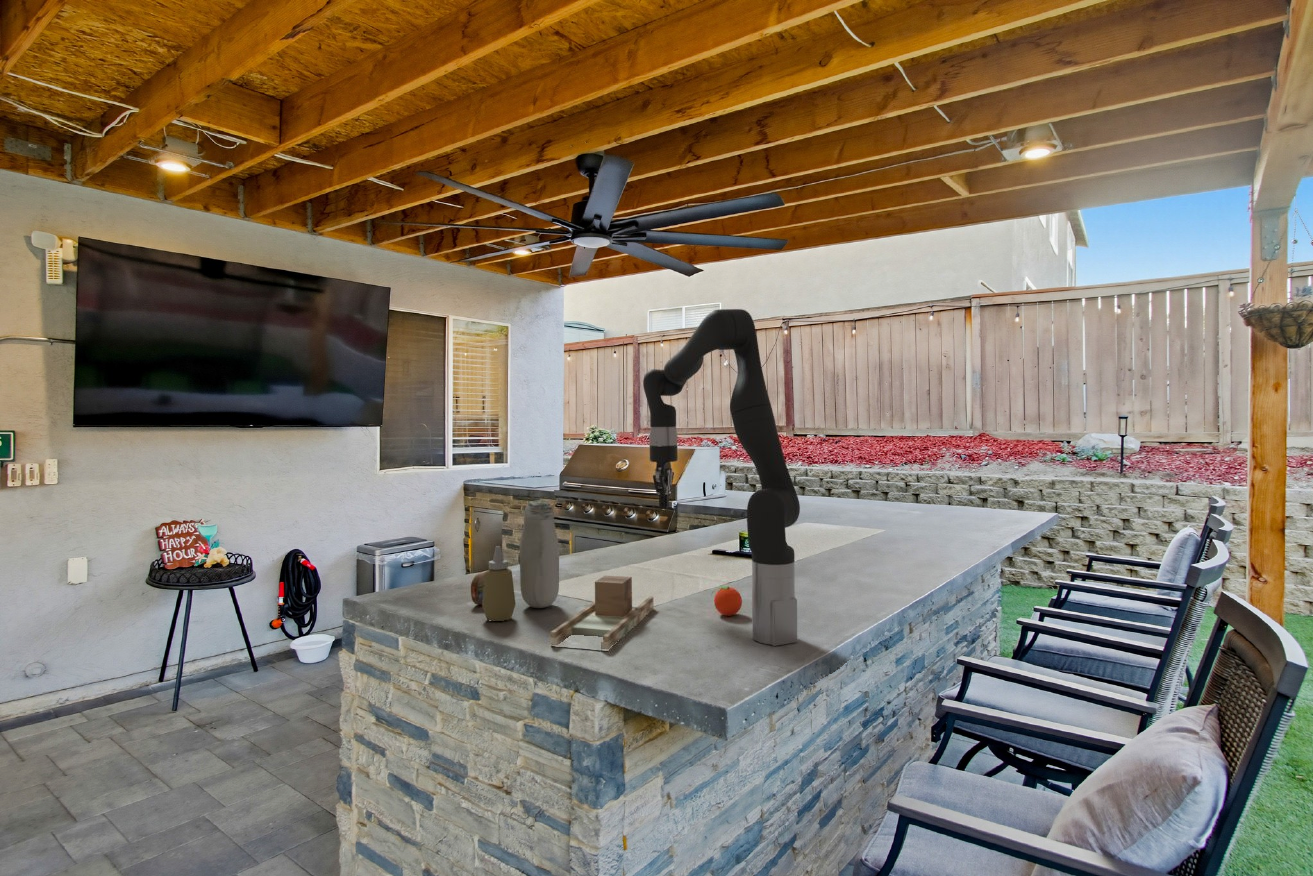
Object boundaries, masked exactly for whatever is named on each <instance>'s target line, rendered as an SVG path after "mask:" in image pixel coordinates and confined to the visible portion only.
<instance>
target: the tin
mask: <svg viewBox="0 0 1313 876" xmlns="http://www.w3.org/2000/svg"><path fill="white" fill-rule="evenodd" d="M486 571H487V570H486ZM486 571H482V572H480V573H478V574H476V575H475V576H474V577H473V578H472V580H471V582H470V595H471V600H472V602H473V604H475V605H477V606H482V601H483V590H484V578H485V572H486Z"/></svg>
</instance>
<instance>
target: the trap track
mask: <svg viewBox="0 0 1313 876" xmlns="http://www.w3.org/2000/svg"><path fill="white" fill-rule="evenodd" d="M653 610H654V596H649V597H647V598H646V599H645V600H643V602H641V603H640V604H639V605H638V606H632V610H631V611H629V612H628V613H627V614H626V615H625V616H624V617H615V616H601V615H595V601H593V602H592V603H590V604H589V605H588V606H586V607H585V608H583V609H582V610H580V611H579V612H577V613H576V614H574V615H573V616H572V617H570V618H569V619H568V620H566V621H565V622H563V623H562V624H560V625H559V626H557V627H556V628H555V629H552V630H551V631H550V646H551V645H558V644H560V643H561V642H563V641H564V640H565V639H566V638H568V637H569V636H571V635H584V636H598V637H603V640H602V641H601V649H609V648H610V647H611V646H612V645H614V644H615V643H616V642H618V640H620V639H621V638H622V637H623V636H624V635H625V636H627V634H628V631H630V630H631V629H632V628H633V629H634V628H635V627H636V626H637V625H638V624H639V623H640V622H641V621H642V620H644V617H645V618H646V617H647V616H648V615H649V614H651V612H652V611H653ZM646 615H647V616H646ZM634 626H635V627H634ZM633 629H632V630H633ZM632 630H631V631H632ZM631 631H630V632H631ZM626 633H627V634H626ZM625 636H624V637H625ZM624 637H623V638H624ZM623 638H622V639H623ZM622 639H621V640H622ZM621 640H620V641H621ZM618 643H619V642H618Z"/></svg>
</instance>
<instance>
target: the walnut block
mask: <svg viewBox="0 0 1313 876" xmlns="http://www.w3.org/2000/svg"><path fill="white" fill-rule="evenodd" d="M632 586H633V577H632V576H620V575H603V576H602V577H600V578H599V579H597V580H596V581H594V602H595V615H601V616H615V617H624V616H625V615H626V614H627V613H628V612H629V611H631V610H632V607H633V587H632Z"/></svg>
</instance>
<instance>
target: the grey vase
mask: <svg viewBox="0 0 1313 876" xmlns="http://www.w3.org/2000/svg"><path fill="white" fill-rule="evenodd" d="M523 514H524V516H523V525H522V526H523V527H522V532H521V536H520V542H519V574H520V576H519V578H520V579H519V580H520V582H519V583H520V585H519V586H520V593H521V597H522V599H523V602H525V604H527V606H529V607H531V608H533V609H544V608H547V607H550V606H552V604H554V603H555V601H556V600H557V597H558V595H559V591H560V590H559V589H560V546H559V540H558V535H557V530H556V526H555V525H556V524H555V520H554V510H553V507H552V505H551V504H550V503H549V502H548V501H546V500H540V499H536V500H535V499H534V500H532V501H530V502H529V503H528V504H526V506H525V509H524V513H523Z"/></svg>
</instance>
